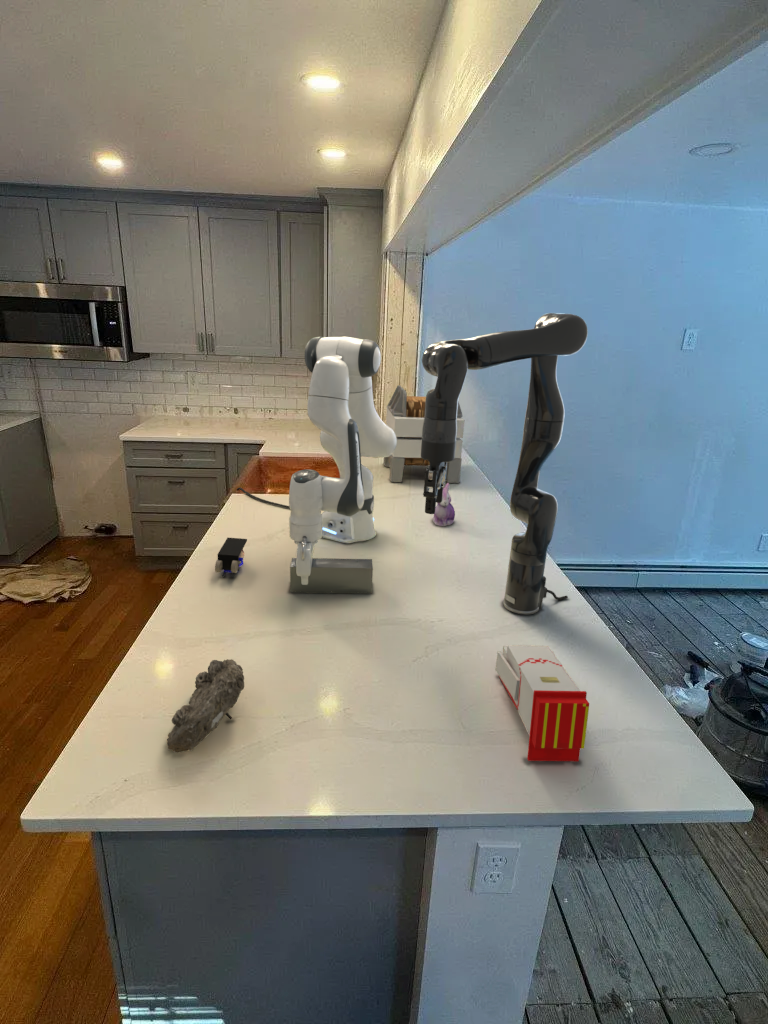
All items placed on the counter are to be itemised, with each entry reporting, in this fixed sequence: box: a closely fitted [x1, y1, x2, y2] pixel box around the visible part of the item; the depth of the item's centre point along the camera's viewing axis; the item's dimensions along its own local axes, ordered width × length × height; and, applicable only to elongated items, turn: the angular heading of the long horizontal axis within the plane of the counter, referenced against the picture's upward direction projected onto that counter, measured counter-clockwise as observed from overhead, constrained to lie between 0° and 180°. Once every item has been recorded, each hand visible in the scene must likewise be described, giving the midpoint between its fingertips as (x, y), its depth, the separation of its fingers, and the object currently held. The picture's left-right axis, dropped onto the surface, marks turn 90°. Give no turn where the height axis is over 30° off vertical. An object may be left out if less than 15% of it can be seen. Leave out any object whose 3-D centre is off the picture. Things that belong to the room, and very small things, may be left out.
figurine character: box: [214, 537, 248, 578], centre depth 166 cm, size 7×8×15 cm
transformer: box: [383, 384, 465, 484], centre depth 268 cm, size 34×33×41 cm
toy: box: [494, 644, 590, 762], centre depth 112 cm, size 12×13×30 cm
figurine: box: [432, 482, 456, 527], centre depth 210 cm, size 9×10×15 cm
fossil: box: [166, 658, 245, 754], centre depth 106 cm, size 22×10×15 cm
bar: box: [289, 557, 374, 594], centre depth 158 cm, size 22×6×8 cm, turn 93°
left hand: (306, 576), depth 158 cm, fingers open, 7 cm apart
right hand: (433, 507), depth 130 cm, fingers open, 8 cm apart
